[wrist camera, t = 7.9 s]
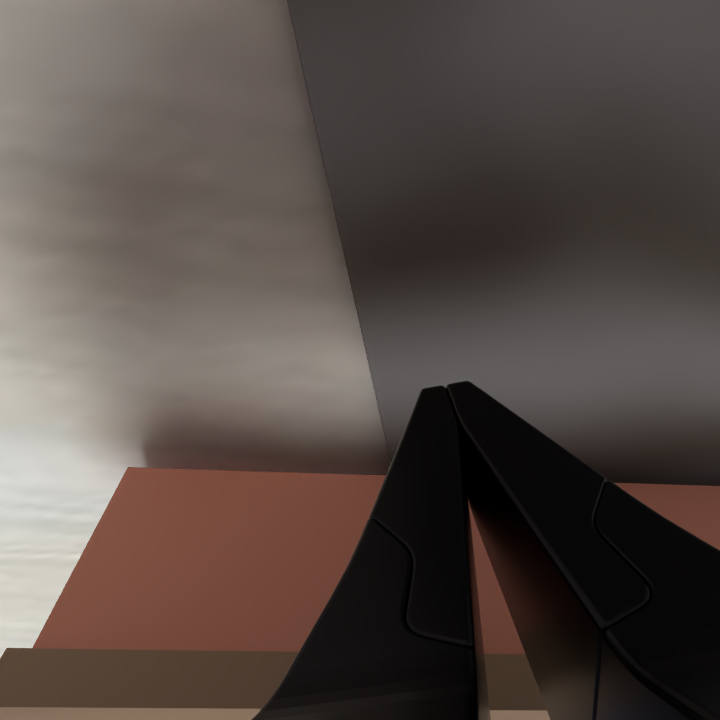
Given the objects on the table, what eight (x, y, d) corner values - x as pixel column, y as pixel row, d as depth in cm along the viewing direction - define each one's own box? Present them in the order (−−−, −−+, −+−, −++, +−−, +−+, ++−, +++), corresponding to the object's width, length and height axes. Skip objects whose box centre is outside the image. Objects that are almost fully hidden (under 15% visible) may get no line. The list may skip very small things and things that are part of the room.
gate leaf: (811, 476, 15) (1073, 713, 10) (775, 527, 16) (993, 765, 11) (117, 453, 14) (-28, 707, 9) (130, 509, 15) (10, 765, 10)
